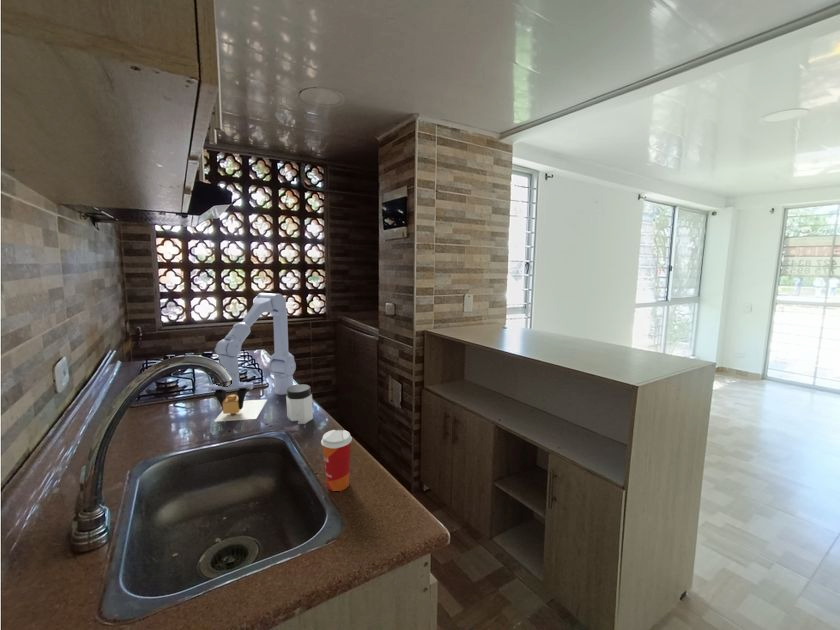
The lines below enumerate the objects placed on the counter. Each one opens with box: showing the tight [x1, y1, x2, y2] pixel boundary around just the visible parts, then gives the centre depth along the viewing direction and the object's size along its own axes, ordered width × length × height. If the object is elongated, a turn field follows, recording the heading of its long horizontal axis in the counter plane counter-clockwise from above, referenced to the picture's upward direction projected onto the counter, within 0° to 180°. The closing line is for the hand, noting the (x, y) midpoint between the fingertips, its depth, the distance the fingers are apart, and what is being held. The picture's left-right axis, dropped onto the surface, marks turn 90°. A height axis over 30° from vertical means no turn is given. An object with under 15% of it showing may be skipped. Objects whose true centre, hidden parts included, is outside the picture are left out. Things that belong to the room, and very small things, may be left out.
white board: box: [213, 399, 268, 423], centre depth 141 cm, size 18×14×2 cm
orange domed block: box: [222, 394, 241, 414], centre depth 136 cm, size 5×5×6 cm
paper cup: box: [320, 429, 353, 492], centre depth 97 cm, size 8×8×14 cm
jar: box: [285, 383, 314, 425], centre depth 135 cm, size 9×8×12 cm
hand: (232, 408), depth 136 cm, fingers closed on orange domed block, 5 cm apart
